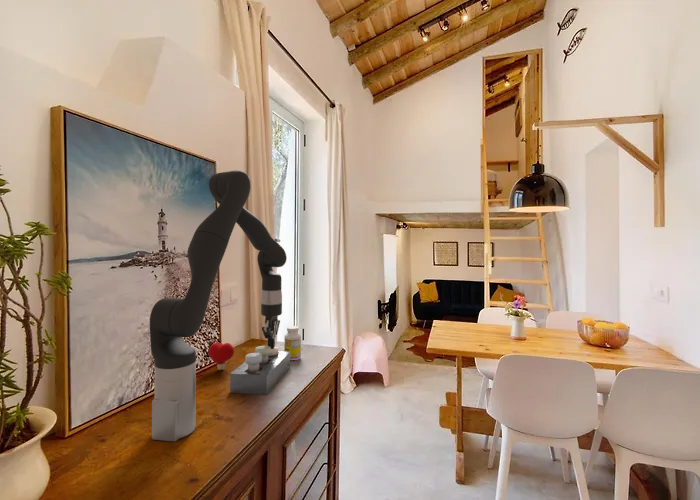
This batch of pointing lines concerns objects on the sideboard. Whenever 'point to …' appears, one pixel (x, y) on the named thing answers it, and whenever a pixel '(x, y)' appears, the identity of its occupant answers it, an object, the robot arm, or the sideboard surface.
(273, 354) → the cap far
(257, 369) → the cap near
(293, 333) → the supplement bottle
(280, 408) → the sideboard surface
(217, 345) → the red heart
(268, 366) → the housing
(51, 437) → the sideboard surface
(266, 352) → the cap mid
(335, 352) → the sideboard surface
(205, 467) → the sideboard surface
